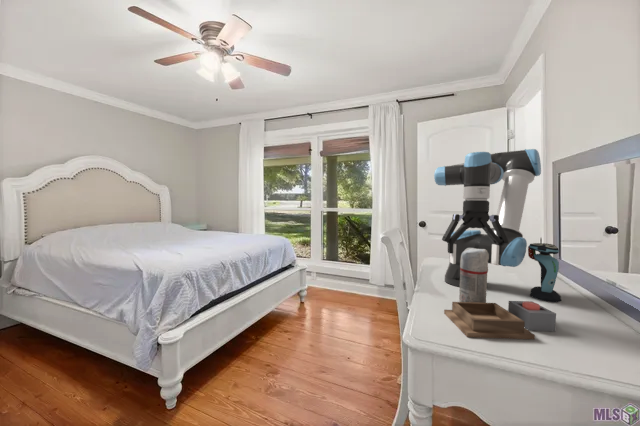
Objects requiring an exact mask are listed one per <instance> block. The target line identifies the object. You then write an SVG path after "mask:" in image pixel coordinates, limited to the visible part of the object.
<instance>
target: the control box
mask: <svg viewBox="0 0 640 426" xmlns="http://www.w3.org/2000/svg"><path fill="white" fill-rule="evenodd" d="M528 301H529V302H533V301H531V300H528ZM523 302H524V301H523V300H508V307H507V308H508V309H507V311H509V312H510V313H512V314H513V315H515V316H517V317H518V318H520V319H521V320H523V321H524V322H525V324H524V327H525V329H528V331H529V330H538V331H537V332H556V324H557V321H556V320H557V313H555V312H554V311H551V310H550V309H548V308H546V307H544V306H542V305H540V310H527V309H526V308H524V307H522V304H523Z"/></svg>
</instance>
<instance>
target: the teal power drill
mask: <svg viewBox="0 0 640 426" xmlns="http://www.w3.org/2000/svg"><path fill="white" fill-rule="evenodd" d="M536 252H538V253H536ZM559 252H560V250H559V248H558V247H557V245H555V244H552V243H544V242H543V243H541V242H538V243H537V242H535V243H534V242H533V243H529V245H528V247H527V254H528V257H529V259H531V260H534V262H535V261H536V262H537V263H538V264H539V266H540V286H534V287H533V288H531V289H530V294H529V296H530V297H531V298H532V299H535V300H539V301H543V302H548V303H561V302H562V296H561V295H560V294H559V293H558V292H557V291H556V290H554V287H555V284H556V280H557V278H558V274H559V269H560V267H559V265H560V262H559V260H558V258H555V257H554V256H552V255H556V254H559ZM551 254H552V255H551Z"/></svg>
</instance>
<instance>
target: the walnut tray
mask: <svg viewBox="0 0 640 426" xmlns="http://www.w3.org/2000/svg"><path fill="white" fill-rule="evenodd" d="M451 304H452V305H451V309H444V310H443V314H444V315H445V316H446V317H447V318H448V319H449V320H450V322H452V323H453V324H454V325H455V326H456V327H457V328H458V329H459V330H460V331H461V332H462V333H463V334H464V335H465V336H466V338H479V339H480V338H481V339H482V338H483V339H506V340H507V339H508V340H509V339H510V340H511V339H512V340H513V339H514V340H536V339H535V337H536V335H535V334H534V333H532V332H531V331H529V330H527V329H526V328H524V324H525V322H524V321H523V320H521V319H520V318H518V317H517V316H515V315H513V314H512V313H510V312H509V311H508V309H505V308H504V307H502V306H501V305H499V304H498V303H496V302H486V303H480V302H459V301H452V303H451Z"/></svg>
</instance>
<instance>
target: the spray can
mask: <svg viewBox="0 0 640 426" xmlns="http://www.w3.org/2000/svg"><path fill="white" fill-rule="evenodd" d="M488 259H489V254H488V252H487V250H486V249H476V248H467V249H465V251H464V252H463V253H462V255H461V260H460V287H459V301H458V302H480V303H487V292H488V291H487V289H488V287H487V286H488V272H489V263H488Z"/></svg>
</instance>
